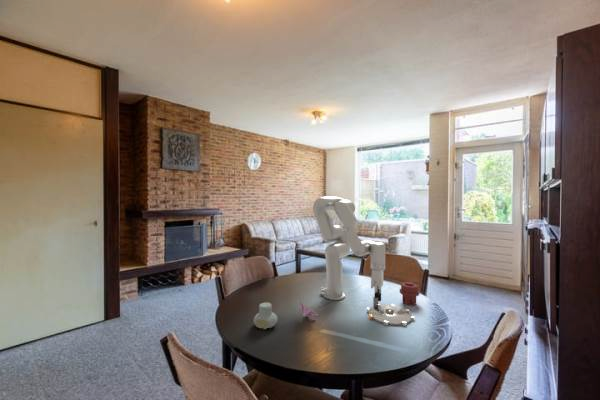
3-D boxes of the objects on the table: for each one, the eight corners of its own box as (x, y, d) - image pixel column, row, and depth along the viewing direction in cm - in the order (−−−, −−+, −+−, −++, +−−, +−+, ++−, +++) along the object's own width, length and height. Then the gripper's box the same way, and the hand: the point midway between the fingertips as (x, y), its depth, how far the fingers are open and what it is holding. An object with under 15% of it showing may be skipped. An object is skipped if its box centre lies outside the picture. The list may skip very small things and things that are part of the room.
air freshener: (279, 323, 130) (279, 302, 130) (273, 331, 122) (273, 309, 122) (258, 320, 133) (257, 300, 133) (251, 329, 125) (250, 307, 125)
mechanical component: (417, 302, 155) (421, 309, 145) (398, 301, 157) (401, 308, 147) (417, 280, 154) (421, 286, 145) (398, 279, 156) (401, 285, 147)
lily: (319, 329, 126) (324, 307, 130) (296, 322, 124) (301, 300, 127) (308, 326, 137) (313, 306, 141) (287, 319, 134) (293, 299, 138)
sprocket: (361, 320, 130) (361, 306, 130) (371, 303, 150) (371, 291, 150) (412, 330, 120) (412, 315, 120) (415, 311, 140) (416, 298, 140)
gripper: (373, 262, 154) (373, 294, 154) (367, 268, 140) (367, 304, 141) (387, 263, 150) (387, 296, 151) (382, 270, 137) (382, 306, 137)
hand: (377, 300), depth 146 cm, fingers closed
